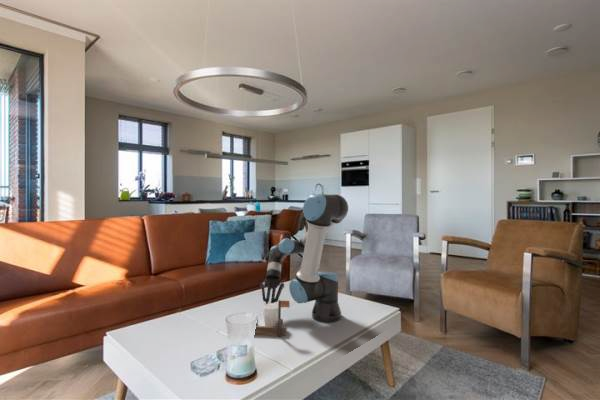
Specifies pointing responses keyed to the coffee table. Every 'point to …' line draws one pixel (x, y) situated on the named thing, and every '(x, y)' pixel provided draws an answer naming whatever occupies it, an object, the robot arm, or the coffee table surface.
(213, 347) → the coffee table surface
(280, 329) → the wooden cup stand
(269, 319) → the white cup
